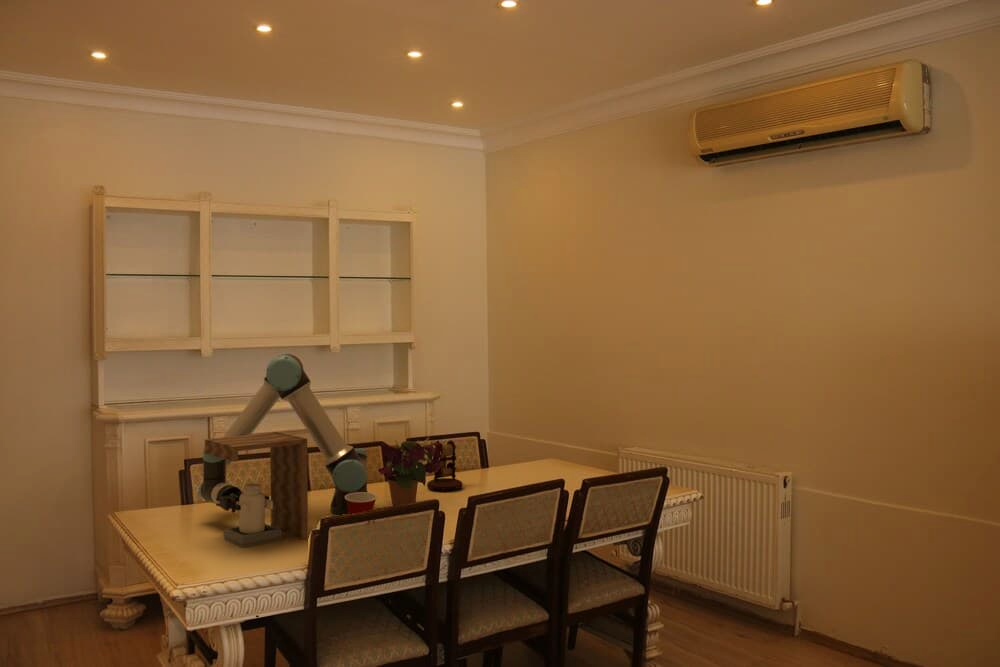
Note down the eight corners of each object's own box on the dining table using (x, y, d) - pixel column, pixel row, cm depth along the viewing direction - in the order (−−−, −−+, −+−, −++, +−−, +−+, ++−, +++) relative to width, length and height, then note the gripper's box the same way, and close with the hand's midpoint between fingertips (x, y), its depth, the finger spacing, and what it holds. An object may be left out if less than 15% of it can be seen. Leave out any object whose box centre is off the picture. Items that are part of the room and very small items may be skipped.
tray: (224, 539, 275) (224, 528, 275) (261, 532, 284) (261, 522, 284) (243, 547, 266) (242, 536, 266) (280, 540, 274) (280, 529, 274)
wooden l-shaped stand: (205, 539, 275) (204, 439, 274) (276, 526, 292) (275, 432, 291) (235, 553, 260) (234, 446, 259) (307, 538, 277) (307, 438, 276)
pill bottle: (270, 529, 277) (269, 483, 277) (255, 535, 270) (255, 487, 269) (249, 527, 280) (249, 481, 279) (234, 533, 272) (233, 486, 272)
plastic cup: (350, 536, 279) (350, 500, 278) (340, 529, 288) (340, 494, 288) (381, 532, 284) (381, 496, 283) (371, 525, 293) (371, 490, 293)
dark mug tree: (447, 484, 365) (447, 437, 365) (469, 489, 354) (469, 441, 354) (419, 488, 355) (419, 441, 355) (442, 494, 344) (441, 445, 344)
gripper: (255, 502, 295) (288, 513, 278) (197, 511, 281) (228, 524, 264) (255, 480, 295) (288, 491, 278) (197, 489, 281) (228, 500, 264)
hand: (259, 507), depth 271 cm, fingers closed on pill bottle, 8 cm apart
